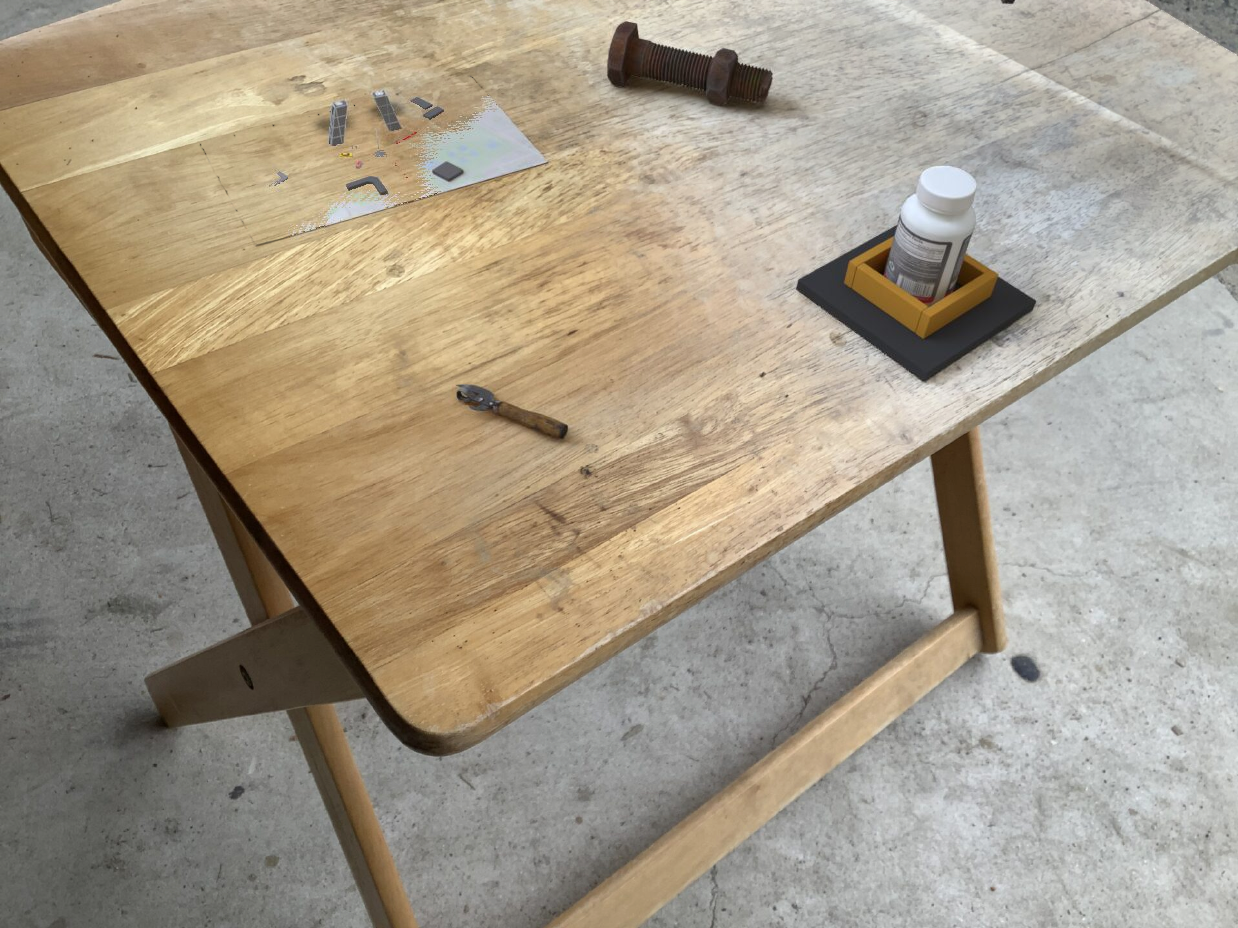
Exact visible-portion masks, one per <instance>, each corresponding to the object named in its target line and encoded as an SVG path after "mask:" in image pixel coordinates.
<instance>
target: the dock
mask: <svg viewBox="0 0 1238 928" xmlns="http://www.w3.org/2000/svg"><path fill="white" fill-rule="evenodd" d="M896 227H897V224H895V225H894V226H892V227H890V228H888V229H887V230H885V231H883V232H881V233H879V234H878V235H876V236H874V237H873V238H870V239H868V240H867V241H865V242H863V243H862V244H860V245H857V246H856V247H855V248H854V247H853V248H852V249H851V250H849V251H846V252H845V253H843V254H841V255H840V256H838V257H836V258H834V259H833V260H831V261H829V262H827V263H826V264H824V265H822V266H820V267H819V268H816V269H815V270H813V271H811V272H809V273H808V274H806V275H804V276H802V277H801V278H798V279H797V283H796V288H795V290H796V291H798V292H799V293H801V295H802V296H805V297H806V298H807V299H809V300H810V301H812V302H813V303H814V304H816V306H819V307H820V308H821V309H822V310H823V311H825V312H826V313H828V314H829V315H830V316H832V317H833V318H835V319H836V320H838V321H839V322H840V323H841V324H843V325H845V326H846V327H847V328H848V329H850V330H851V331H853V332H854V333H855V334H856V335H858V336H860V337H861V338H862V339H864V340H865V341H866V342H868V343H869V344H871V345H872V346H873V347H875V348H876V349H878V350H879V351H880V352H882V353H883V354H884V355H885V356H887V357H889V358H890V359H891V360H893V361H894V362H895V363H897V364H898V365H899V366H901V367H902V368H904V369H905V370H906V371H908V372H909V373H910V374H912V375H913V376H915V377H916V378H918V379H919V380H920V381H922V382H923V383H926V382H927V381H929V380H930V379H932V378H933V377H935V376H936V375H938V374H939V373H941V372H943V370H945V369H947V368H949V367H950V366H951V365H953V364H954V363H956V362H957V361H958V360H960V359H962V358H963V357H964V356H966V355H968V354H970V353H971V352H972V351H974V350H975V349H977V348H978V347H980V346H982V345H983V344H984V343H986V342H987V341H989V340H990V339H992V338H993V337H995V336H997V335H998V334H999V333H1001V332H1003V331H1005V329H1007V328H1008V327H1010V326H1011V325H1013V324H1015V323H1016V322H1018V321H1019V320H1020V319H1022V318H1023V317H1025V316H1027V315H1028V314H1030V313H1031V312H1033V311H1034V309H1035V306H1036V304H1037V299H1035V298H1033V297H1031V296H1030V295H1028V294H1027V293H1025V292H1023V291H1022V290H1020V289H1019V288H1018V287H1016V286H1014V285H1013V284H1011V283H1009V282H1008V281H1006V280H1005V279H1003V278H1002V277H1000V275H999V273H998V272H996V271H995V270H993V269H990V268H989V267H988V266H986V265H985V264H984V263H982V262H980V261H978V260H977V259H976V258H974V257H972V256H970V254H967V253H966V254H965V257H964V260H963V263H962V266H961V268H960V272H959V274H958V278H957V281H956V284H955V287H954V289H953V292H952V293H951V294H950V295H948V296H947V297H945V298H943V299H942V300H940V301H939V302H937V303H935V304H934V305H932V306H930V307H929V308H928V306H927V305H925V304H924V303H922V302H921V301H919V300H918V299H916V298H915V297H913V296H912V295H910V294H909V293H907V292H906V291H905V290H903V289H902V288H900V287H899V286H897V285H896V284H894V283H893V282H891V281H890V280H888V279H887V278H885V277H884V273H885V268H886V264H887V260H888V257H889V253H890V250H891V246H892V242H893V238H894V235H895V231H896Z"/></svg>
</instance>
